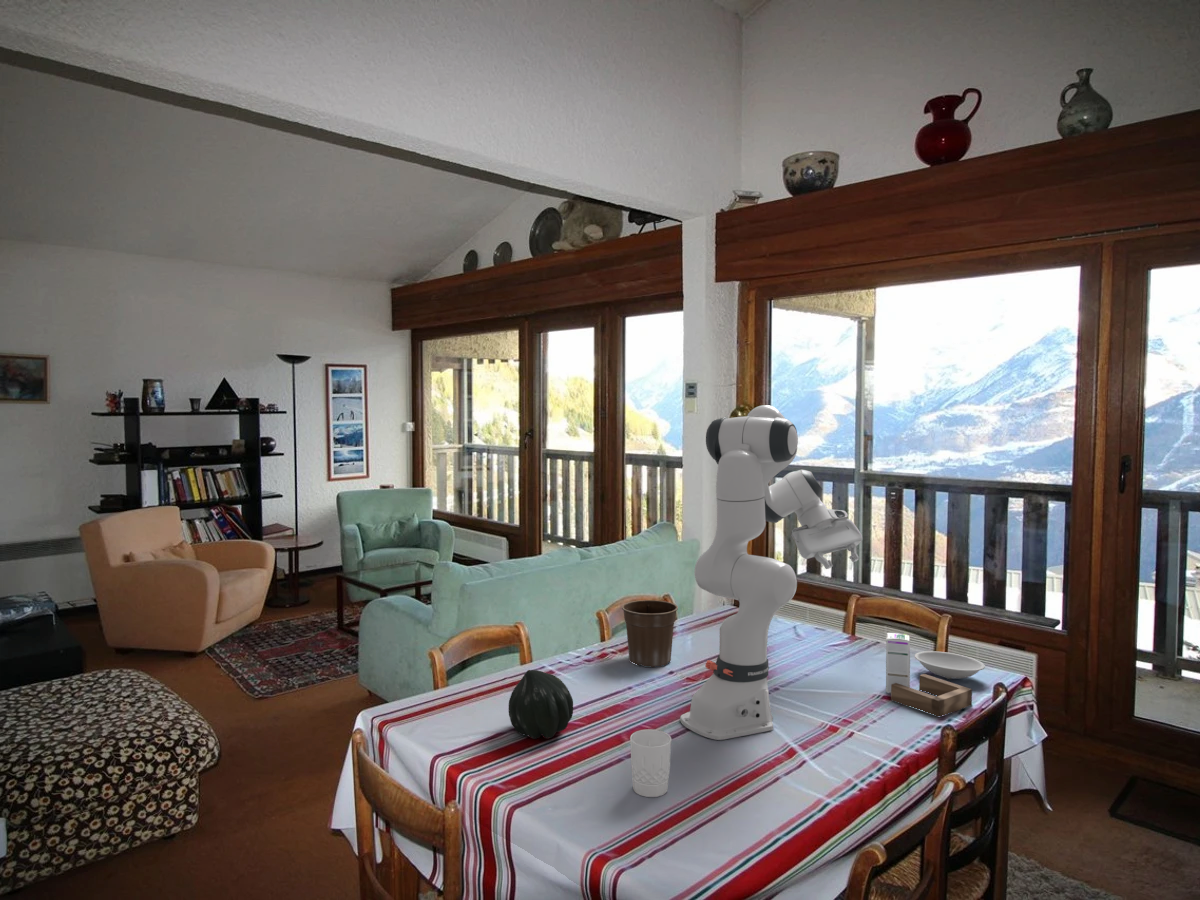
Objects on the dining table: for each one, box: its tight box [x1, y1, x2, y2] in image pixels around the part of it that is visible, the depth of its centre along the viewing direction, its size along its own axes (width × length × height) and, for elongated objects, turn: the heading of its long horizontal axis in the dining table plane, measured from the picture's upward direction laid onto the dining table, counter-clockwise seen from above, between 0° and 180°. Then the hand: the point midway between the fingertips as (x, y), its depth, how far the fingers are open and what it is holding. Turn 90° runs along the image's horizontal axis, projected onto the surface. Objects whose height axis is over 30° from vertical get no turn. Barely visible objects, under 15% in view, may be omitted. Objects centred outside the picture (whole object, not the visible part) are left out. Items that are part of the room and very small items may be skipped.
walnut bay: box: [890, 673, 973, 717], centre depth 187 cm, size 14×13×4 cm
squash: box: [508, 669, 574, 740], centre depth 169 cm, size 14×15×15 cm
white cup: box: [629, 728, 672, 798], centre depth 143 cm, size 8×8×10 cm
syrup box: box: [885, 632, 911, 694], centre depth 194 cm, size 6×6×14 cm
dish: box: [914, 650, 986, 680], centre depth 204 cm, size 18×14×5 cm
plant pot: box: [621, 599, 679, 668], centre depth 217 cm, size 16×16×16 cm
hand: (843, 564), depth 206 cm, fingers open, 8 cm apart
